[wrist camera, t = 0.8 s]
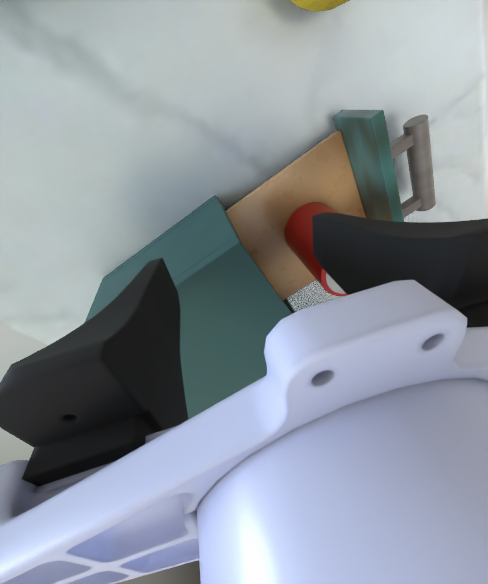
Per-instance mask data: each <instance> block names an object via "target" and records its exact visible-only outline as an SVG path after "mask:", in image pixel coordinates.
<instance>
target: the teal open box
mask: <svg viewBox="0 0 488 584" xmlns="http://www.w3.org/2000/svg"><path fill="white" fill-rule="evenodd" d="M162 257H163V260H164V262H165V264H166V267H167V269H168V271H169V273H170V276H171V278H172V280H173V282H174V285H175V287H176V289H177V291H178V296H179V302H180V358H181V368H182V376H183V384H184V392H185V399H186V406H187V413H188V419H190V418H192V417H194V416H196V415H197V414H199V413H201V412H203V411H204V410H206V409H208V408H210V407H211V406H213V405H215V404H217V403H218V402H220V401H222V400H224V399H226V398H227V397H229V396H231V395H233V394H234V393H236V392H238V391H240V390H241V389H243V388H245V387H247V386H248V385H250V384H252V383H254V382H255V381H257V380H259V379H261V378H262V377H264V376H266V374H267V365H266V360H265V355H264V348H265V342H266V336H267V335H268V334H269V333H270V332H271V331H272V329H273V328H274V327H275V326H276V325H277V324H278V322H279V321H280V320H281V319H283V318H285V317H287V316H289V315H291V314H293V313H295V311H294V310H293V308H292V306H291V305H290V303H289V301H288V300H287V298H286V299H285V300H282V299H281V298H280V296H279V295H278V293H277V292H276V290H275V289H274V288H273V286H272V285H271V283H270V282H269V281H268V279H267V278H266V276H265V275H264V274H263V272H262V271H261V269H260V268H259V267H258V265H257V264H256V262H255V261H254V260H253V258H252V257H251V255H250V254H249V253H248V251H247V250H246V248H245V247H244V245H243V243H242V242H241V240H240V238H239V236H238V234H237V232H236V230H235V228H234V226H233V225H232V223H231V221H230V219H229V217H228V215H227V213H226V209H225V208H224V206H223V205H222V203H221V202H220V201H219V199H218V198H217V196H216V195H215V196H213V197H212V198H211V199H209V200H208V201H207V202H205V203H204V204H203V205H201V206H200V207H199V208H197V209H196V210H195V211H193V212H192V213H191V214H189V215H188V216H187V217H185V218H184V219H182V220H181V221H180V222H178V223H177V224H176V225H174V226H173V227H172V228H170V229H169V230H168V231H166V232H165V233H164V234H162V235H161V236H160V237H158V238H157V239H156V240H154V241H153V242H152V243H150V244H149V245H147V246H146V247H145V248H143V249H142V250H141V251H139V252H138V253H137V254H135V255H134V256H133V257H131V258H130V259H129V260H127V261H126V262H125V263H123V264H122V265H121V266H119V267H118V268H116V269H115V270H114V271H112V272H111V273H110V274H108V275H107V276H106V277H104V278H103V280H102V282H101V284H100V287H99V289H98V292H97V294H96V296H95V299H94V301H93V304H92V306H91V309H90V311H89V314H88V316H87V319H86V321H85V322H87V321H88V320H89V319H91V318H92V317H94V316H95V315H96V314H98V313H99V312H100V311H101V310H102V309H104V308H105V307H106V306H107V305H108V304H110V303H111V302H112V301H113V300H114V299H115V298H116V297H117V296H118V295H119V294H120V293H121V292H122V291H123V290H124V289H125V287H126V286H127V285H128V284H129V283H130V282H131V281H132V280H133V279H134V277H135V276H136V275H137V274H138V273H139V271H140V270H141V269H142V268H143V267H144V266H145V265H146V263H147V262H149V261H151V260H155V259H158V258H162Z"/></svg>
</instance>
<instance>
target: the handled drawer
mask: <svg viewBox="0 0 488 584" xmlns="http://www.w3.org/2000/svg"><path fill="white" fill-rule="evenodd" d="M333 119H334V123H335V126H336V129H337V130H336V131H335V132H334V133H332V134H331V135H329V136H328V137H327V138H325V139H324V140H322V141H321V142H320V143H318V144H317V145H316V146H314V147H313V148H311V149H310V150H309V151H307V152H306V153H305V154H303V155H302V156H300V157H299V158H298V159H296V160H295V161H294V162H292V163H291V164H289V165H288V166H287V167H285V168H284V169H282V170H281V171H280V172H278V173H277V174H276V175H274V176H273V177H271V178H270V179H269V180H267V181H266V182H265V183H263V184H262V185H260V186H259V187H258V188H256V189H255V190H254V191H252V192H251V193H249V194H248V195H247V196H245V197H244V198H242V199H241V200H240V201H238V202H237V203H236V204H234V205H233V206H231V207H230V208H229V209H227V210H226V213H227V215H228V217H229V219H230V221H231V223H232V225H233V226H234V228H235V230H236V232H237V234H238V236H239V238H240V240H241V242H242V243H243V245H244V247H245V248H246V250H247V251H248V253H249V254H250V255H251V257H252V258H253V260H254V261H255V262H256V264H257V265H258V267H259V268H260V269H261V271H262V272H263V274H264V275H265V276H266V278H267V279H268V281H269V282H270V283H271V285H272V286H273V288H274V289H275V290H276V292H277V293H278V295H279V296H280V298H281V299H282V300H285V299H286V298H288V297H289V296H291V295H292V294H294V293H296V292H297V291H299V290H300V289H302V288H304V287H305V286H307V285H308V284H310V283H311V282H313V281H315V280H316V279H315V277H314V276H313V275H312V274H311V273H310V271H309V270H308V269H307V268H306V267H305V266H304V264H303V263H302V262H301V261H300V260H299V259H298V257H297V256H296V255H295V254H294V253H293V252H292V250H291V249H290V248H289V247H288V245H287V243H286V241H285V227H286V224H287V222H288V220H289V218H290V217H291V215H292V214H293V213H294V212H295V211H296V210H297V209H298V208H299V207H301V206H303V205H305V204H307V203H311V202H321V203H324V204H326V205H328V206H330V207H331V208H333V209H335V210H336V211H338V212H340V213H341V214H345V215H351V216H357V217H363V218H369V219H376V220H384V221H394V222H404V219H403V218H404V217H406V216H407V215H409V214H410V213H412V212H413V211H415V210H417V211H426V210H429V209H431V208H433V207H434V206H435V192H434V181H433V169H432V158H431V146H430V135H429V123H428V116H427V115H419V116H416V117H414V118H412V119H410V120H408V121H407V122H406V123H405V124H404V125H403V130H404V134H403V135H402V136H400V137H399V138H397V139H396V140H394V141H393V142H391V143H389V138H388V132H387V127H386V121H385V116H384V111H383V110H341V111H340V112H339V113H337V114H336V115H335V116H333ZM405 150H406V151H407V157H408V164H409V171H410V178H411V185H412V192H413V197H411V198H410V199H408V200H406V201H405V202H403V203H402V204H401V203H400V197H399V192H398V186H397V181H396V176H395V170H394V165H393V159H394V158H395V157H397V156H398V155H400V154H401V153H402V152H404V151H405Z"/></svg>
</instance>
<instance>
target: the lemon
mask: <svg viewBox="0 0 488 584" xmlns="http://www.w3.org/2000/svg"><path fill="white" fill-rule="evenodd" d="M290 1H292V2H293V3H294V4H296V5H297V6H298V7H299V8H303V9H306V10H309V11H313V12H314V11H325V10H331V9H333V8H335V7H337V6H339V5H341V4H343V3H345V2H347V1H349V0H290Z"/></svg>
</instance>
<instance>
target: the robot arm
mask: <svg viewBox="0 0 488 584" xmlns="http://www.w3.org/2000/svg"><path fill="white" fill-rule="evenodd" d="M312 232H313V254H314V256H315V258H316V259H317V261H318V262H319V264H320V265H321V267H322V268H323V269H324V270H325V271H326V272H327V274H328V275H329V276H330V277H331V278H332V279H333V280H334V281H335V282H336V283H337V284H338V285H339V286H340V287H341V289H342V290H343V291H344V292H345V293H346V294H347V296H344V297H340V298H337V299H334V300H330V301H327V302H324V303H321V304H317V305H314V306H311V307H307V308H304V309H301V310H299V311H297V312H295V313H293V314H291V315H289V316H287V317H285V318H283V319H281V320H280V321H279V322H278V324H277V325H276V326H275V327H274V328H273V329H272V331H271V332H270V333H269V334H268V335H267V336H266V342H265V348H264V355H265V360H266V365H267V374H266V376H264V377H262V378H261V379H259V380H257V381H255V382H254V383H252V384H250V385H248V386H247V387H245V388H243V389H241V390H240V391H238V392H236V393H234V394H233V395H231V396H229V397H227V398H226V399H224V400H222V401H220V402H218V403H217V404H215V405H213V406H211V407H210V408H208V409H206V410H204V411H203V412H201V413H199V414H197V415H196V416H194V417H192V418H190V419H188V413H187V406H186V399H185V392H184V384H183V376H182V368H181V358H180V302H179V296H178V291H177V289H176V287H175V285H174V282H173V280H172V278H171V276H170V273H169V271H168V269H167V267H166V264H165V262H164V260H163V257H162V258H158V259H155V260H151V261H149V262H147V263H146V265H145V266H144V267H143V268H142V269H141V270H140V271H139V273H138V274H137V275H136V276H135V277H134V279H133V280H132V281H131V282H130V283H129V284H128V285H127V286H126V287H125V289H124V290H123V291H122V292H121V293H120V294H119V295H118V296H117V297H116V298H115V299H114V300H113V301H112V302H111V303H110V304H108V305H107V306H106V307H105V308H104V309H102V310H101V311H100V312H99V313H98V314H96V315H95V316H94V317H92V318H91V319H89V320H88V321H87V322H85V323H84V324H83V325H81V326H80V327H78V328H77V329H75V330H74V331H72V332H71V333H69V334H67V335H66V336H64V337H63V338H61V339H59V340H58V341H56V342H54V343H52V344H51V345H49V346H47V347H46V348H44V349H41V350H40V351H37V352H36V353H34V354H32V355H30V356H28V357H26V358H24V359H22V360H20V361H18V362H16V363H14V364H12V365H11V366H10V368H9V369H8V371H7V373H6V374H5V376H4V377H3V379H2V381H1V382H0V427H1V428H2V429H4V430H5V431H7V432H9V433H10V434H12V435H14V436H16V437H17V438H19V439H21V440H22V441H24V442H26V443H27V444H29V445H31V446H33V447H35V448H34V450H33V453H32V455H31V457H30V460H29V461H27V460H17V461H12V462H9V463H6V464H3V465H0V584H115V583H118V582H122V581H126V580H129V579H133V578H136V577H140V576H143V575H147V574H150V573H154V572H157V571H161V570H164V569H168V568H171V567H175V566H179V565H182V564H186V563H189V562H192V561H196V560H200V576H201V584H488V219H481V220H470V221H458V222H436V223H412V222H394V221H384V220H376V219H369V218H363V217H357V216H351V215H345V214H339V213H331V212H324V213H320V214H317V215H313V216H312Z"/></svg>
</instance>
